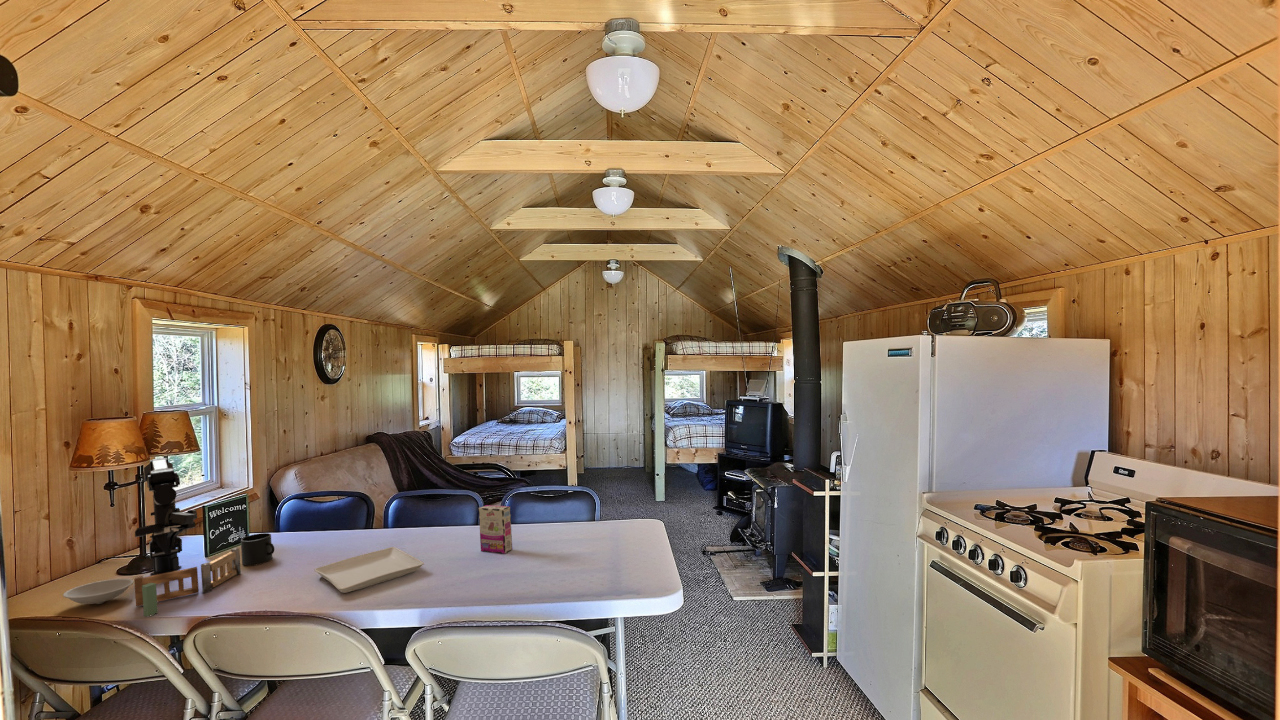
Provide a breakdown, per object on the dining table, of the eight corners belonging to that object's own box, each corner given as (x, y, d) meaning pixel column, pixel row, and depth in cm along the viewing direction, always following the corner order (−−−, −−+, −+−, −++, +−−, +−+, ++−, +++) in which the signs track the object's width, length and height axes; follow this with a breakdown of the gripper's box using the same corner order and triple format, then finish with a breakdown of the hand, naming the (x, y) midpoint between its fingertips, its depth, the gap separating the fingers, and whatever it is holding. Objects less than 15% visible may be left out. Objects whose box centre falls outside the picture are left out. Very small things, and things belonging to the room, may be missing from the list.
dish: (49, 615, 176) (48, 599, 175) (90, 595, 190) (89, 580, 190) (110, 611, 177) (109, 595, 177) (147, 591, 191) (146, 576, 191)
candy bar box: (513, 549, 216) (511, 506, 216) (505, 554, 212) (503, 509, 211) (488, 546, 220) (486, 504, 220) (480, 551, 216) (477, 507, 215)
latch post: (153, 612, 175) (151, 582, 174) (157, 613, 174) (155, 583, 173) (143, 615, 172) (141, 585, 172) (148, 616, 171) (146, 586, 171)
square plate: (394, 555, 217) (393, 545, 217) (425, 573, 197) (425, 562, 197) (314, 577, 198) (313, 566, 198) (340, 600, 178) (339, 588, 178)
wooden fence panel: (200, 593, 188) (198, 565, 188) (235, 573, 204) (234, 547, 204) (208, 592, 188) (206, 565, 188) (242, 572, 204) (240, 547, 204)
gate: (198, 590, 188) (197, 565, 188) (198, 592, 187) (196, 566, 187) (136, 604, 180) (135, 577, 179) (136, 606, 178) (134, 579, 178)
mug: (264, 566, 210) (263, 541, 210) (235, 565, 212) (234, 541, 212) (284, 556, 219) (283, 533, 219) (256, 556, 221) (255, 532, 221)
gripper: (166, 503, 187) (170, 552, 185) (208, 500, 206) (212, 544, 203) (131, 511, 187) (135, 560, 184) (176, 507, 205) (180, 552, 203)
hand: (168, 554), depth 194 cm, fingers closed
